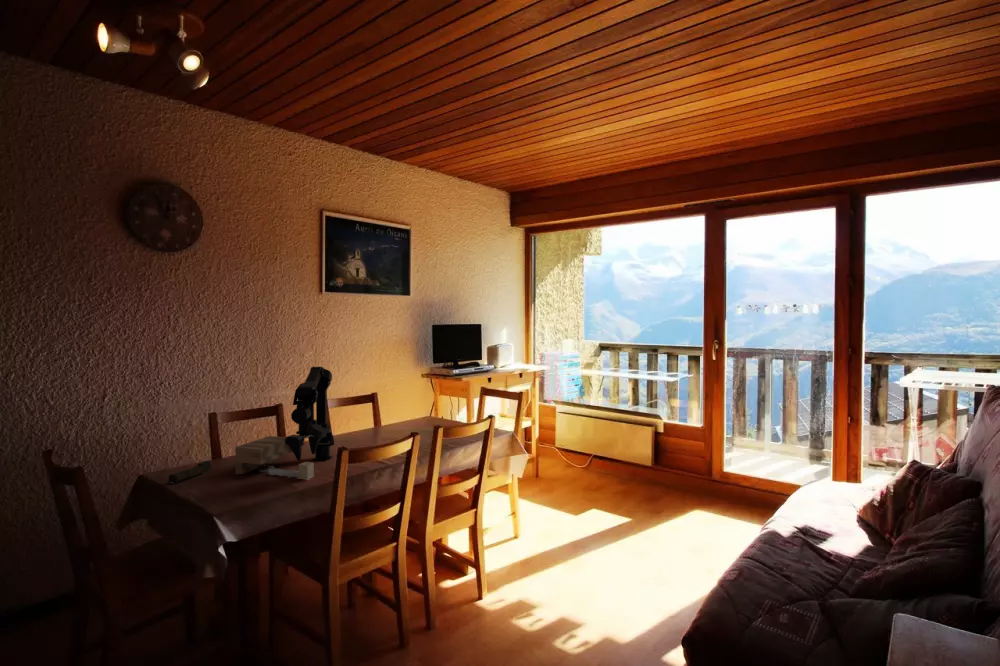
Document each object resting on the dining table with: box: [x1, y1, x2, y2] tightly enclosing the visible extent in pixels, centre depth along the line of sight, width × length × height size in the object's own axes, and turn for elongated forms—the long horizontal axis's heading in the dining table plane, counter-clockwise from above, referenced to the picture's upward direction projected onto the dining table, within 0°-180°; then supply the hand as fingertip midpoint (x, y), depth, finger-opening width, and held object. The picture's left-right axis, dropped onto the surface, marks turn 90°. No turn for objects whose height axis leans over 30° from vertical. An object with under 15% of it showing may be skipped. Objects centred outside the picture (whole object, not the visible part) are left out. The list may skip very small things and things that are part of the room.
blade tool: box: [268, 461, 315, 481], centre depth 214 cm, size 4×19×6 cm, turn 74°
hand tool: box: [168, 460, 213, 484], centre depth 212 cm, size 19×4×5 cm, turn 162°
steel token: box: [257, 464, 275, 473], centre depth 222 cm, size 6×6×2 cm
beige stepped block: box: [234, 435, 293, 475], centre depth 224 cm, size 20×12×11 cm, turn 164°
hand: (306, 457), depth 212 cm, fingers open, 9 cm apart
